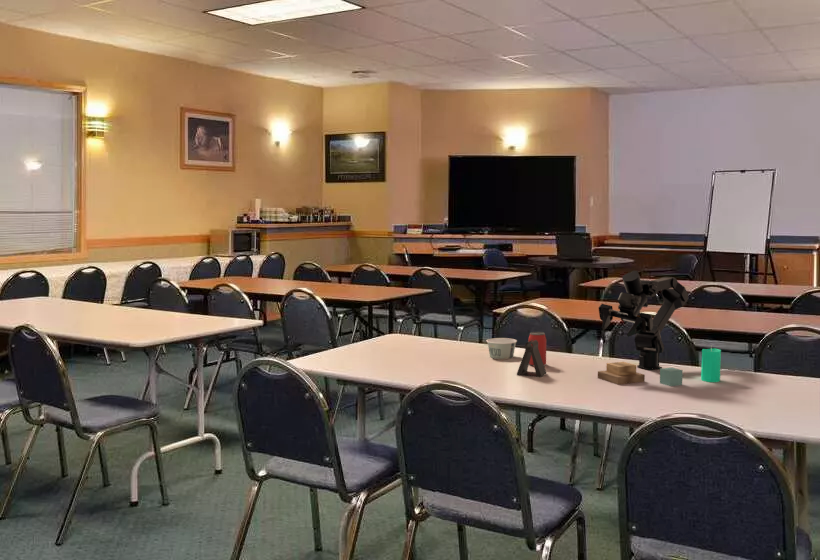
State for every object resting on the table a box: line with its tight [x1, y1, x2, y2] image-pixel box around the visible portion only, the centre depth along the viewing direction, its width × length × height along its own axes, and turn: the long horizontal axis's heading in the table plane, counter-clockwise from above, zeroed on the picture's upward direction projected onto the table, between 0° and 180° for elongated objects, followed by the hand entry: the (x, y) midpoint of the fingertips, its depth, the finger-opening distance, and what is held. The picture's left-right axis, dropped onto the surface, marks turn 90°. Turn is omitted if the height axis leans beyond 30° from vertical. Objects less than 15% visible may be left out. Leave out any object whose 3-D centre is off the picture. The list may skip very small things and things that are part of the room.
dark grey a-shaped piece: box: [516, 340, 547, 378], centre depth 277 cm, size 9×6×12 cm, turn 63°
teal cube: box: [659, 367, 683, 387], centre depth 261 cm, size 5×5×5 cm
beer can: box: [527, 331, 547, 367], centre depth 294 cm, size 7×7×12 cm
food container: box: [485, 337, 518, 360], centre depth 311 cm, size 12×12×6 cm
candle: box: [700, 345, 722, 383], centre depth 265 cm, size 6×6×12 cm
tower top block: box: [605, 361, 637, 376], centre depth 267 cm, size 7×7×3 cm
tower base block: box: [597, 370, 646, 386], centre depth 267 cm, size 11×11×3 cm
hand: (614, 332), depth 267 cm, fingers open, 9 cm apart
